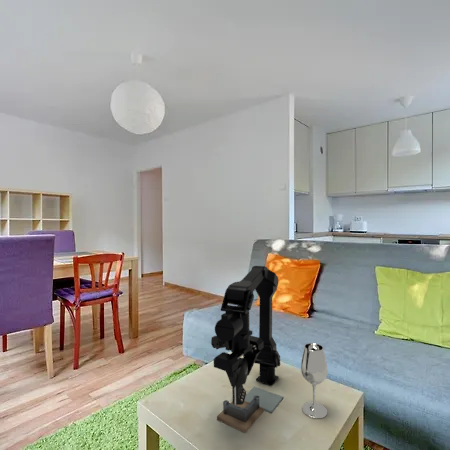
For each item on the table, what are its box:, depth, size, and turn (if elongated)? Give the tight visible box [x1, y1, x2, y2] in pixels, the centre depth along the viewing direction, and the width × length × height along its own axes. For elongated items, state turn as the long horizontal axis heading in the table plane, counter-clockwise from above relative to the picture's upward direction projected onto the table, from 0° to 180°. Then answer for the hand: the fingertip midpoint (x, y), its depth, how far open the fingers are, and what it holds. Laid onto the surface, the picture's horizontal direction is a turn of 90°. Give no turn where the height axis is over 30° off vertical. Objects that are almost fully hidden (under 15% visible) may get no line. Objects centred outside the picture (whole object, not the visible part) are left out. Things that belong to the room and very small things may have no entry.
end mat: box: [244, 386, 284, 414], centre depth 97 cm, size 9×11×1 cm
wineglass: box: [300, 342, 328, 419], centre depth 91 cm, size 8×8×20 cm
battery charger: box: [231, 357, 249, 405], centre depth 86 cm, size 7×4×11 cm, turn 167°
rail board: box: [216, 400, 265, 434], centre depth 89 cm, size 11×10×1 cm
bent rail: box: [222, 396, 260, 423], centre depth 90 cm, size 9×8×3 cm
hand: (240, 380), depth 86 cm, fingers closed on battery charger, 7 cm apart
